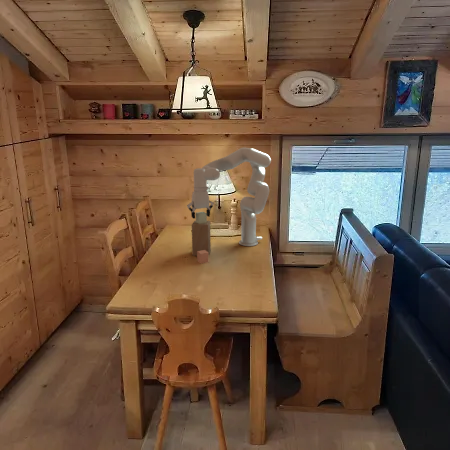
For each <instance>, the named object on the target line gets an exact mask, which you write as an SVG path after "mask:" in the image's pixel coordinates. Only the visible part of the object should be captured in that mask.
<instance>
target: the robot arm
mask: <svg viewBox="0 0 450 450" xmlns="http://www.w3.org/2000/svg"><path fill="white" fill-rule="evenodd" d="M271 162H272V159H271V157H270V155H269V154H267V153H265V152H262V151H259V150H258V149H255V148H251V147H240V148H239V149H237V150H235V151H234V152H231V153H230V154H228V155H226V156H224V157H221V158H219V159H216V160H213V161H211V162H208V163H207V164H205V165H204V166H202V167H200V168H199V167H198V168H194V170H193V191H192V195H191V202H189V203H187V204H186V207H187V208H188V210H189V211H190V212H191V218H192V219H195V220H196V212H195V211H196V210H198V209H200V210H201V209H206V212H205V213H207V217H208V218H209V217H211V216H210V215H211V210H212V208H213V207H214V205H215V202H213V201H212V200H210V197H209V192H208V190H209V188H210V187H209V186H208V185H207V181H217V180H218V179H219V178H220V177H221V171H230V170H233V169H235V168H237V167H239V166H240V165H242V164H243V163H249V165H250V167H251V169H252V172H251V176H250V180H249V182H248V185H247V193H248V194H249V195H250V196H244V197H243V198H241V200H240V202H239V207H240V212H241V227H240V228H241V236H240V237H241V240H239V242H238V243H239V245H241V246H245V247H254V246H257V245H258V244H259V242H258V241H259V240H260V241H261V240H263V237H262V236H258V235H257V234H256V232H257V231H256V230H257V215H259V214H261V213H262V212H263V211H264V210H265V206H266V203H267V200H268V198H269V194H270V187H269V185H268V184H267V183H266V182H265V177H266V169H265V168H267V167H269V166H270V164H271ZM252 196H254V197H252Z"/></svg>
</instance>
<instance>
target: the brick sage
mask: <svg viewBox="0 0 450 450" xmlns="http://www.w3.org/2000/svg"><path fill="white" fill-rule="evenodd" d="M207 217H208V216H207V212H205V211H198V212H195V221H196V223H198V224H203V223H207V221H208V220H207V219H208V218H207Z"/></svg>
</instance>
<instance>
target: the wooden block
mask: <svg viewBox="0 0 450 450" xmlns="http://www.w3.org/2000/svg"><path fill="white" fill-rule="evenodd" d="M211 243H212V241H211V221H210V220H207V223H203V224H198V223H196V220H193V221H192V223H191V246H192V247H191V251H192V256H193V257H197V251H202V250H206V251H207V252H208V256H209V255H210V254H211V252H212V251H211V250H212V249H211V245H212V244H211Z"/></svg>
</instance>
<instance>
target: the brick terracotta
mask: <svg viewBox="0 0 450 450" xmlns="http://www.w3.org/2000/svg"><path fill="white" fill-rule="evenodd" d="M196 257H197V258H196V259H197V262H199V263H200V264H205V263H209V261H210V260H209V256H208V252H207V251H206V250H202V251H197V256H196Z"/></svg>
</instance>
